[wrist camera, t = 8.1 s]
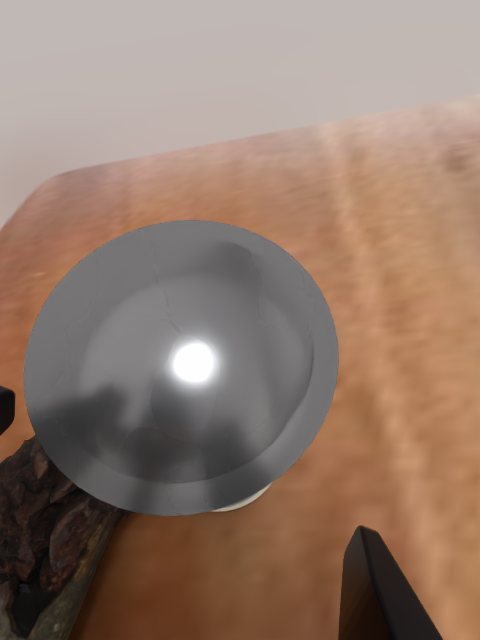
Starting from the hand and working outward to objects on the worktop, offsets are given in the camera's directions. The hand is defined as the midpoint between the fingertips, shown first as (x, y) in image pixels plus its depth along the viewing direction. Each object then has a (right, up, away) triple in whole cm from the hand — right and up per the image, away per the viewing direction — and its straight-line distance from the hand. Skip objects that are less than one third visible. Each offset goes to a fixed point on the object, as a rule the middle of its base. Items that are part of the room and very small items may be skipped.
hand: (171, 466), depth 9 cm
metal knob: (+1, -2, +8) cm, 8 cm away
